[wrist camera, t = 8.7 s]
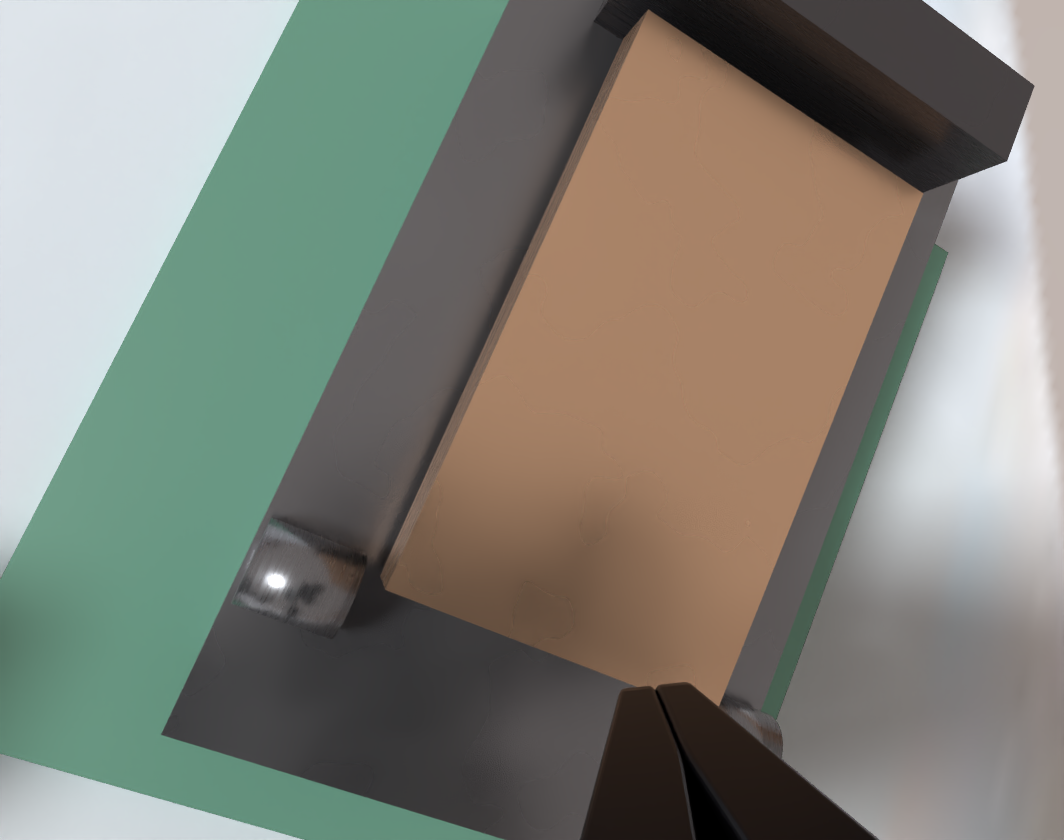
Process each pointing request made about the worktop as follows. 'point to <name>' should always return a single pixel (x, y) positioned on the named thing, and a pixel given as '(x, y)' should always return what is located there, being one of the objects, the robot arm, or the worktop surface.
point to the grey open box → (441, 376)
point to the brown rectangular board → (658, 375)
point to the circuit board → (255, 418)
